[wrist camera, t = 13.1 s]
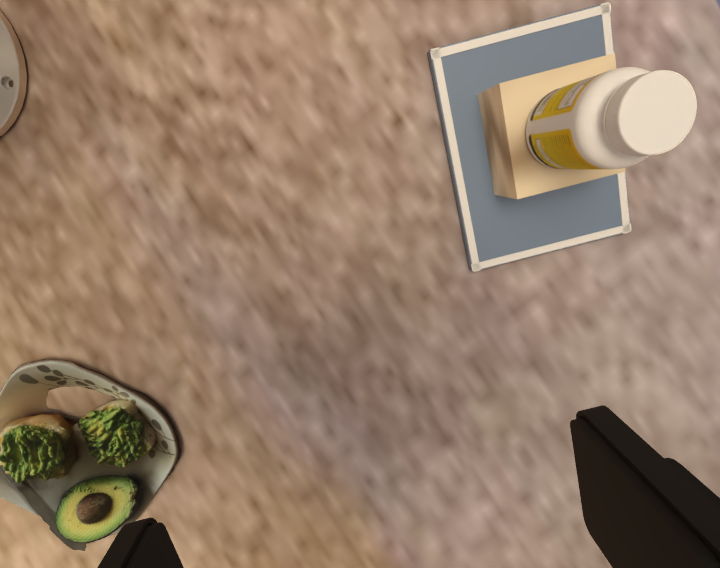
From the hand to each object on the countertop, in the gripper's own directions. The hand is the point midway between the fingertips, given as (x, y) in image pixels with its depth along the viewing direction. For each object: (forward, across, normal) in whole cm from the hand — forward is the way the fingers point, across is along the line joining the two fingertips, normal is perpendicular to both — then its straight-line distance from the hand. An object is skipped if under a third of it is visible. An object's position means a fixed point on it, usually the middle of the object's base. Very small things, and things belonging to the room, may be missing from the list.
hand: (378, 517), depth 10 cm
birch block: (+29, -17, -6) cm, 34 cm away
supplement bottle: (+24, -17, -6) cm, 30 cm away
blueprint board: (+30, -17, -5) cm, 35 cm away
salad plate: (+31, +29, +12) cm, 44 cm away
